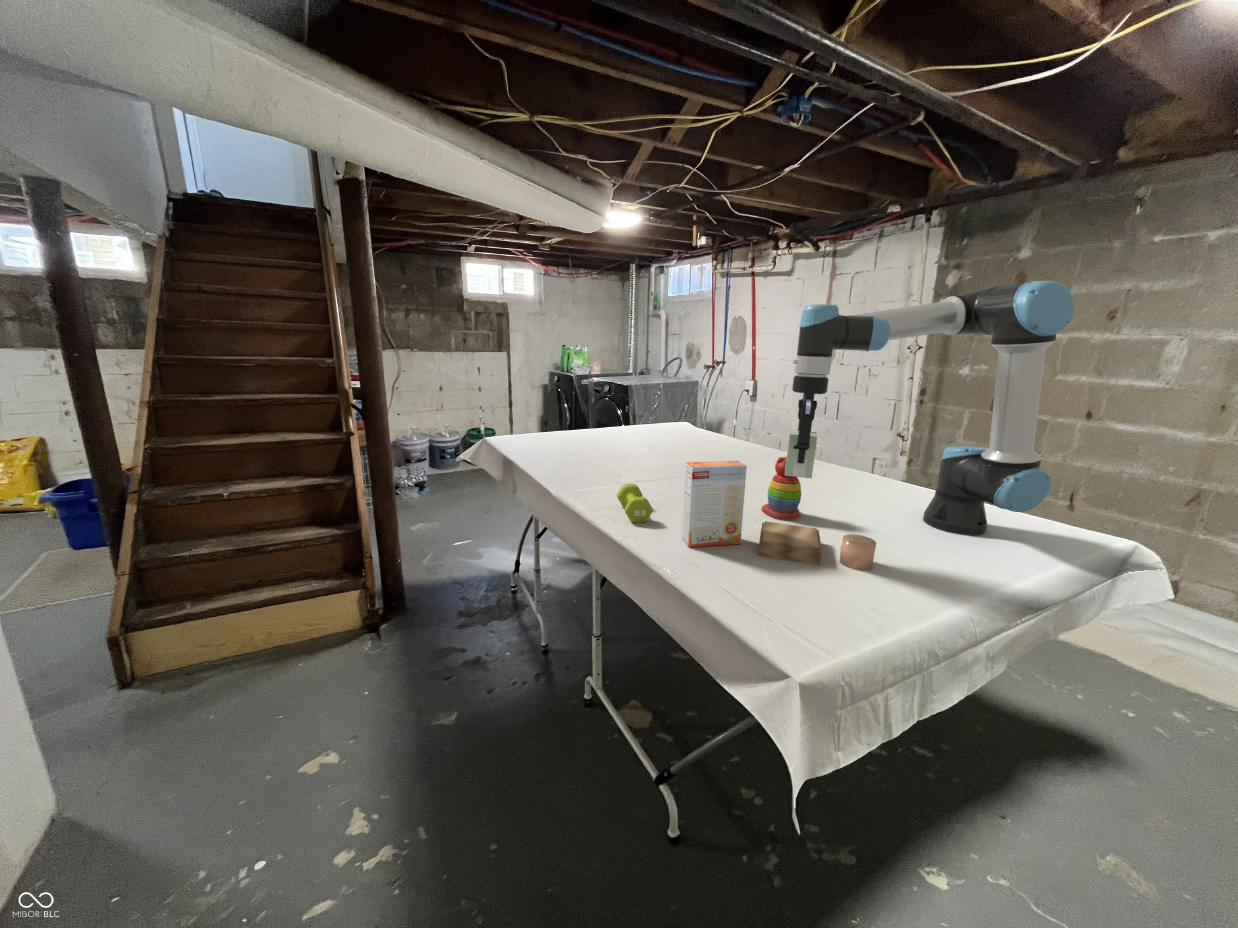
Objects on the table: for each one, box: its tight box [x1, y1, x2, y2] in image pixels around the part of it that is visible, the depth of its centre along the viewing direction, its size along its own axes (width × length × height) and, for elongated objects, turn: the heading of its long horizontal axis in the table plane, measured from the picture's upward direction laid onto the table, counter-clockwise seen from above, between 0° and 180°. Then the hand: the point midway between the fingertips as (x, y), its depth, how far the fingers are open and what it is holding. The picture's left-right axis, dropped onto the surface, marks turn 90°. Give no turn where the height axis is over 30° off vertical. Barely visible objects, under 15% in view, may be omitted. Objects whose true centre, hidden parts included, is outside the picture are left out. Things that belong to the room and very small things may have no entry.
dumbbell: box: [616, 483, 654, 524], centre depth 142 cm, size 16×8×7 cm, turn 10°
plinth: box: [757, 521, 823, 566], centre depth 121 cm, size 14×14×4 cm
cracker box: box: [682, 460, 748, 548], centre depth 122 cm, size 14×6×21 cm, turn 100°
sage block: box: [785, 429, 818, 480], centre depth 116 cm, size 6×6×10 cm
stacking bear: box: [761, 456, 802, 521], centre depth 142 cm, size 11×10×18 cm
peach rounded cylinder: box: [838, 533, 877, 572], centre depth 113 cm, size 7×7×6 cm
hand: (798, 472), depth 117 cm, fingers closed on sage block, 6 cm apart
